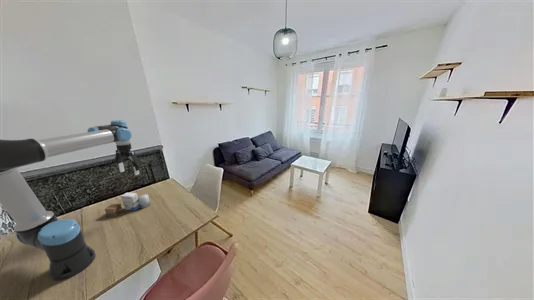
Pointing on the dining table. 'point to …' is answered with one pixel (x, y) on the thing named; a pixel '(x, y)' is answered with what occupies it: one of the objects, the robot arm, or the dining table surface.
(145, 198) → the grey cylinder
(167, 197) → the dining table surface
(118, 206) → the walnut block
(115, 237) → the dining table surface
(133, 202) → the ink box
